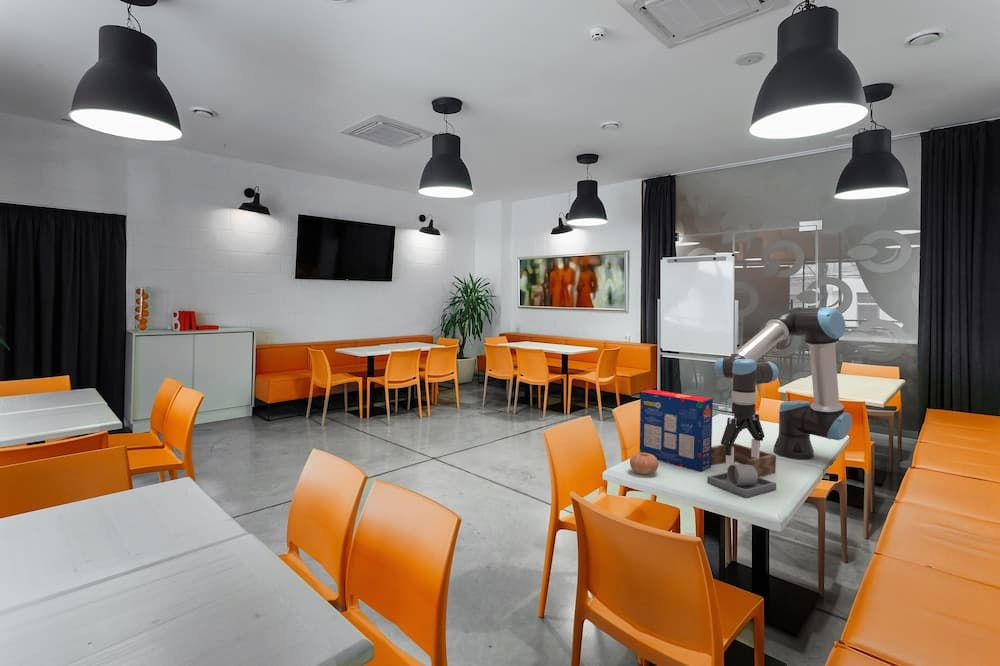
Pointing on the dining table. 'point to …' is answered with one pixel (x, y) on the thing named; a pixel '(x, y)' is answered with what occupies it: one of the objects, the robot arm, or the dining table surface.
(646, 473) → the orange ribbed round gourd
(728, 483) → the tray
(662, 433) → the pasta box
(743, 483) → the ceramic mug
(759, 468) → the bay
